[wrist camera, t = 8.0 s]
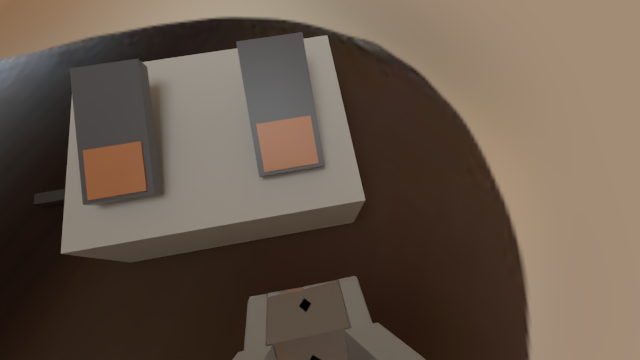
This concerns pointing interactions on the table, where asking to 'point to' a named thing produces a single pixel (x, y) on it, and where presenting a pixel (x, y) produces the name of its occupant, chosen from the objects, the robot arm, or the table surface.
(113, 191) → the block
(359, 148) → the table surface
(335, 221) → the switch box
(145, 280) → the table surface
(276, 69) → the block
